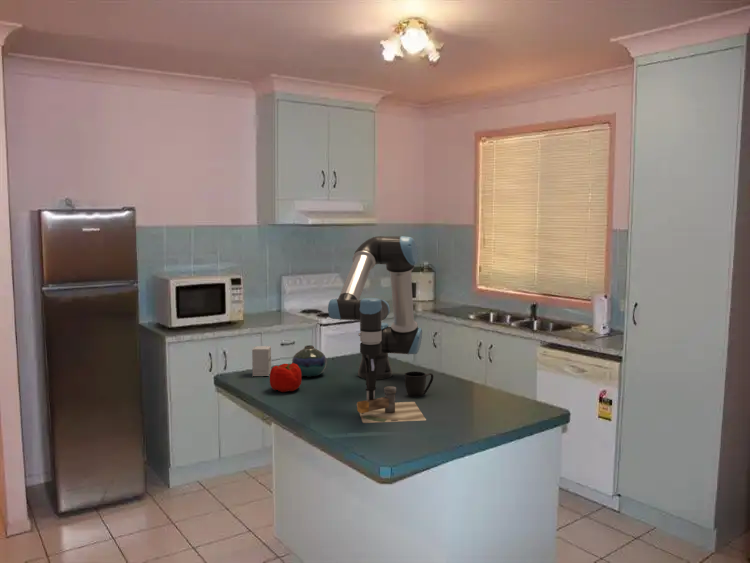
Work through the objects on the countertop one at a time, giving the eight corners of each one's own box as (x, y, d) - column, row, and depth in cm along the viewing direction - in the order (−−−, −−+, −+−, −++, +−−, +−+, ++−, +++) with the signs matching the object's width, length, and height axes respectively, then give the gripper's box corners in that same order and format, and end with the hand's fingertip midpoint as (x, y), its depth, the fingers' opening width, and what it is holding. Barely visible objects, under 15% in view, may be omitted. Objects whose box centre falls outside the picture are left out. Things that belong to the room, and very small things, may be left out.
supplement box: (268, 377, 283) (268, 349, 282) (252, 377, 283) (251, 349, 282) (271, 373, 290) (271, 345, 289) (255, 373, 290) (254, 345, 289)
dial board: (356, 407, 239) (356, 403, 239) (414, 404, 242) (414, 401, 242) (362, 426, 217) (362, 422, 217) (426, 423, 220) (426, 419, 220)
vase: (297, 370, 295) (296, 342, 294) (329, 371, 293) (329, 343, 291) (288, 379, 280) (287, 349, 278) (322, 380, 278) (322, 350, 276)
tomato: (281, 396, 253) (280, 370, 252) (263, 389, 263) (263, 364, 262) (309, 390, 262) (309, 365, 261) (291, 384, 272) (291, 359, 271)
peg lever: (391, 408, 233) (391, 385, 232) (398, 411, 229) (398, 388, 228) (356, 415, 224) (355, 392, 223) (362, 419, 220) (362, 395, 220)
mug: (438, 398, 251) (438, 374, 250) (410, 401, 246) (410, 377, 245) (428, 392, 258) (428, 369, 257) (401, 396, 254) (401, 372, 253)
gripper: (358, 338, 231) (358, 402, 234) (362, 346, 218) (362, 413, 221) (378, 338, 232) (378, 401, 235) (383, 345, 219) (383, 412, 222)
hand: (370, 407), depth 228 cm, fingers closed
